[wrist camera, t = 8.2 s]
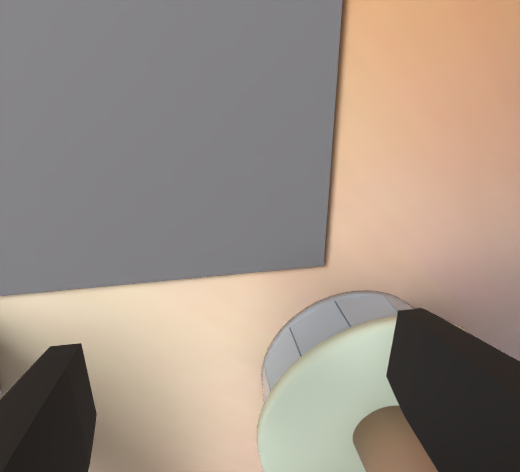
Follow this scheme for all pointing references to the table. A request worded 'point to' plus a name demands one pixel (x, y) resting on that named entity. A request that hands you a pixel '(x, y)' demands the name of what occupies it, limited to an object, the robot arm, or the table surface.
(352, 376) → the lid
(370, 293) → the bowl
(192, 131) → the mat
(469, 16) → the table surface
